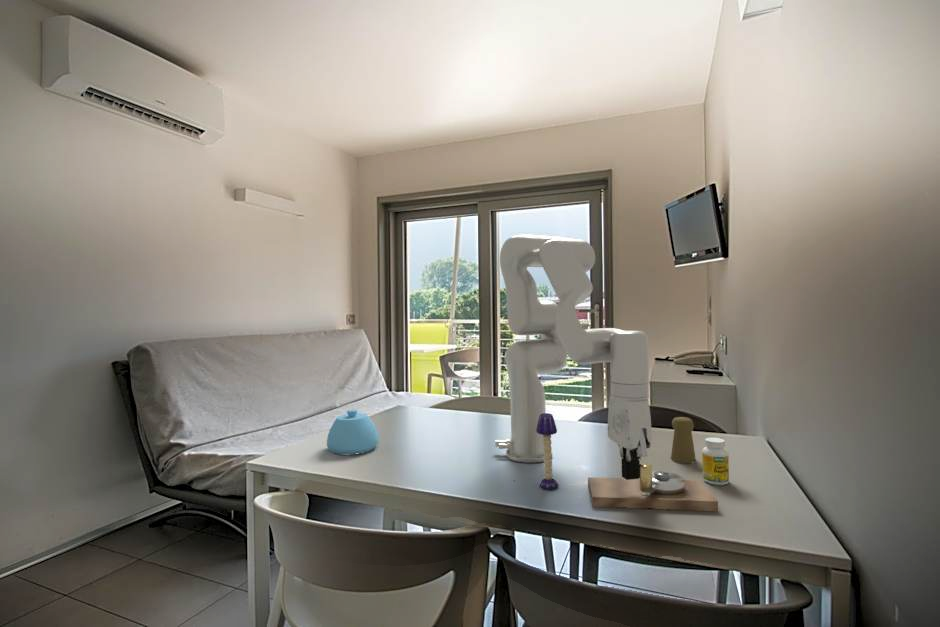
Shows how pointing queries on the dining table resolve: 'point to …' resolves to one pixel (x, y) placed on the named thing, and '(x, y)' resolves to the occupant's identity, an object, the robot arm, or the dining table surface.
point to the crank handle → (659, 481)
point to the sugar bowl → (352, 434)
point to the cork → (683, 440)
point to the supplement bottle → (715, 462)
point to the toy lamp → (547, 449)
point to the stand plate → (630, 496)
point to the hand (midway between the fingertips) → (630, 477)
